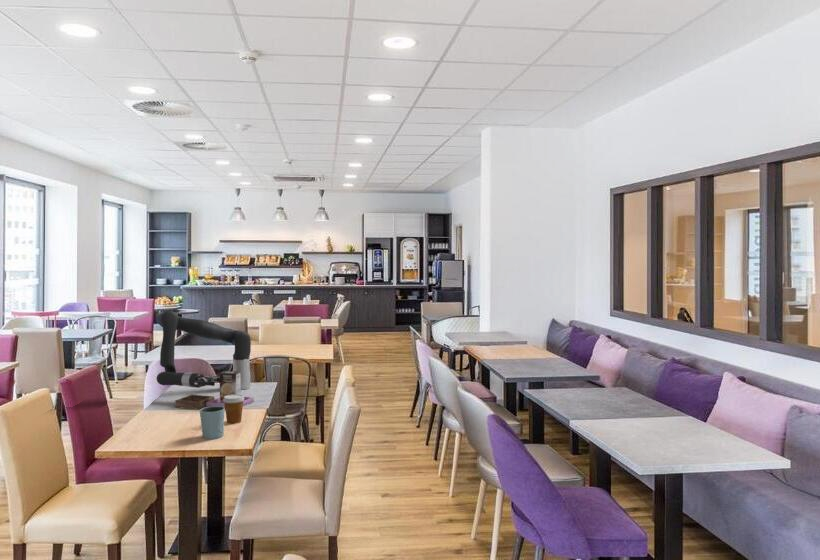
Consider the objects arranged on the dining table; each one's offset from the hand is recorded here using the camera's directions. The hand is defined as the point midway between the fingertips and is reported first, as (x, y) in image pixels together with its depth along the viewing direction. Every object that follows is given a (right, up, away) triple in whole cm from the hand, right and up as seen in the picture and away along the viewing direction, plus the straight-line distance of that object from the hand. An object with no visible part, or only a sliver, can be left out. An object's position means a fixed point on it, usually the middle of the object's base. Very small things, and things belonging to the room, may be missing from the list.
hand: (219, 381), depth 310 cm
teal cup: (+15, -14, -55) cm, 59 cm away
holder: (-12, -12, -2) cm, 17 cm away
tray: (+6, -12, -1) cm, 13 cm away
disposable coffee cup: (+17, -13, -33) cm, 40 cm away
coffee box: (+6, -11, -1) cm, 13 cm away
